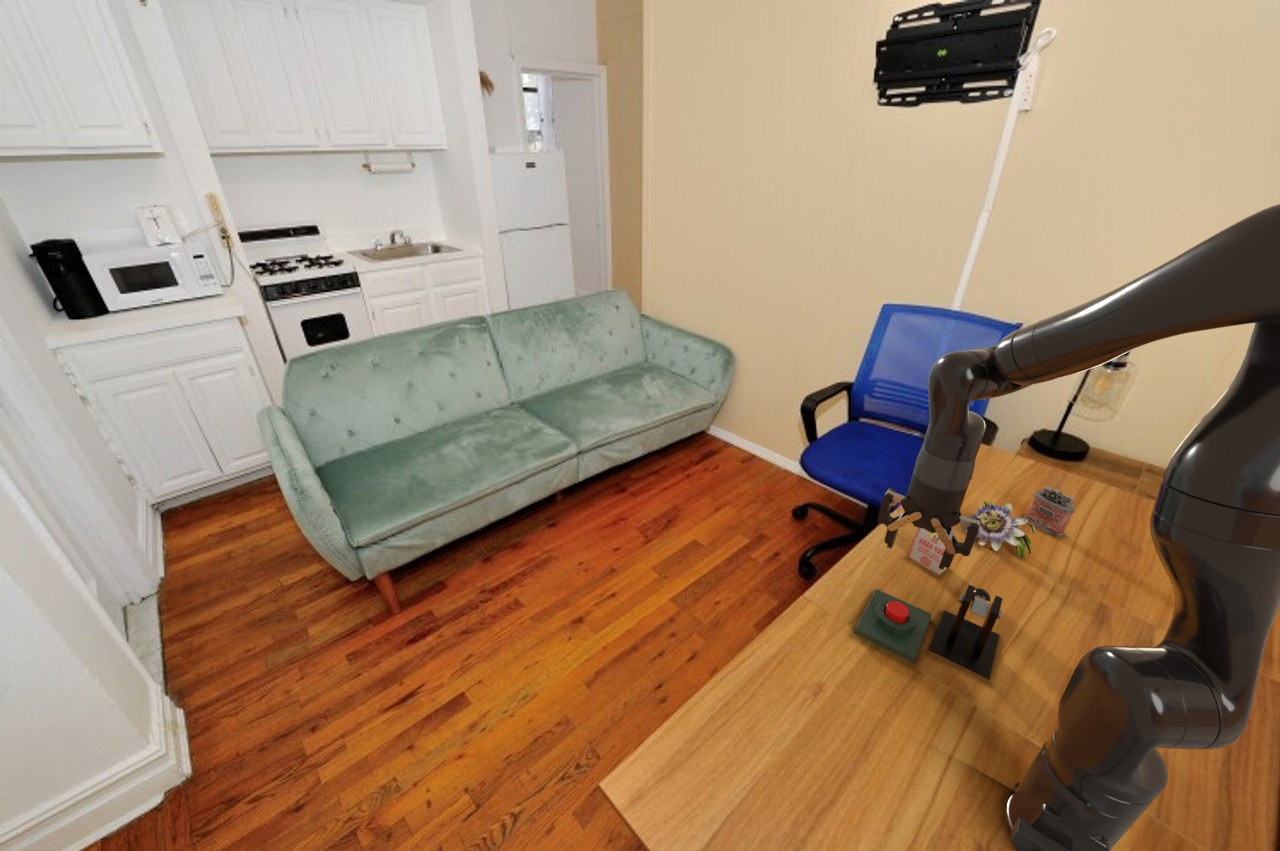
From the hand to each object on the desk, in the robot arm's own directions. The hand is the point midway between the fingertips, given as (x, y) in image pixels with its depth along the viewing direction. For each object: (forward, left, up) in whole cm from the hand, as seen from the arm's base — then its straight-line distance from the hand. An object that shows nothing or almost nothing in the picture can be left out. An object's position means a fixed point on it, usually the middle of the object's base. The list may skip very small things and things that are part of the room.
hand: (915, 555), depth 85 cm
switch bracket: (+4, -11, -18) cm, 21 cm away
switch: (+7, -11, -12) cm, 18 cm away
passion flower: (+39, -11, -18) cm, 44 cm away
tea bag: (+22, -1, -18) cm, 28 cm away
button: (0, 0, -14) cm, 14 cm away
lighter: (+52, -19, -18) cm, 58 cm away
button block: (0, 0, -18) cm, 18 cm away
